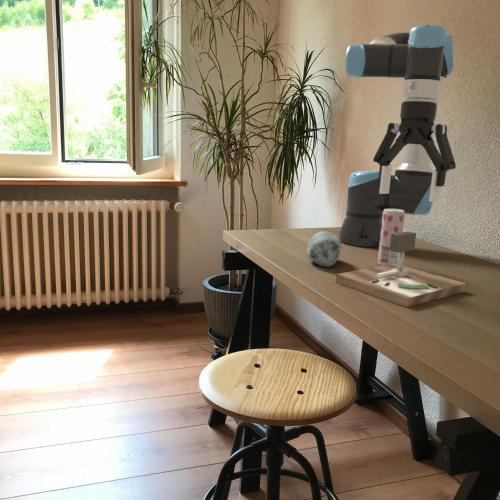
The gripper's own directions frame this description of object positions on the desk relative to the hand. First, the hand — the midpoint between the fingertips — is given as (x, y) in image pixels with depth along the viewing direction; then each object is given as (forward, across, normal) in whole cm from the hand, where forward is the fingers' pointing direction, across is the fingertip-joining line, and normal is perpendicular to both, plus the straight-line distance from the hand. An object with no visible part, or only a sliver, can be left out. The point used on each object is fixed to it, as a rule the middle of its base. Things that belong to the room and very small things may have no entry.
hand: (407, 197), depth 120 cm
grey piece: (+18, 0, -2) cm, 19 cm away
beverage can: (+21, -13, +13) cm, 28 cm away
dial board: (+21, +2, -2) cm, 21 cm away
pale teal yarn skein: (+21, -23, -2) cm, 31 cm away
